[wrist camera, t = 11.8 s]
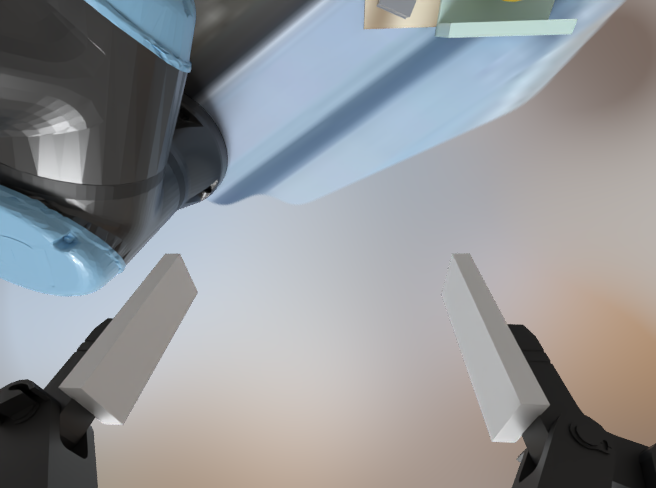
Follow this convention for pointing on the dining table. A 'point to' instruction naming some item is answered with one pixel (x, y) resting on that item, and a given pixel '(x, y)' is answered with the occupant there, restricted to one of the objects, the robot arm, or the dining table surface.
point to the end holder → (499, 19)
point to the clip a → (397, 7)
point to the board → (420, 17)
